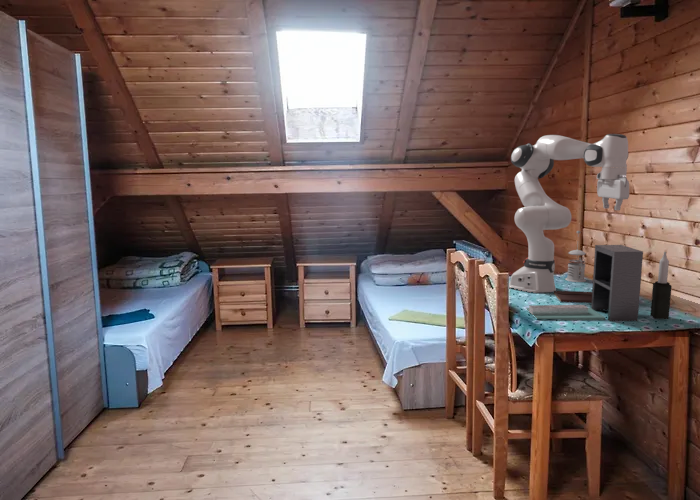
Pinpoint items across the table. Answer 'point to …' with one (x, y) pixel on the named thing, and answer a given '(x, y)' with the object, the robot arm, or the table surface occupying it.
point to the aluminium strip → (557, 309)
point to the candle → (661, 292)
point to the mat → (573, 316)
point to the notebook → (574, 296)
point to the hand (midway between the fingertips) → (611, 209)
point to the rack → (617, 281)
